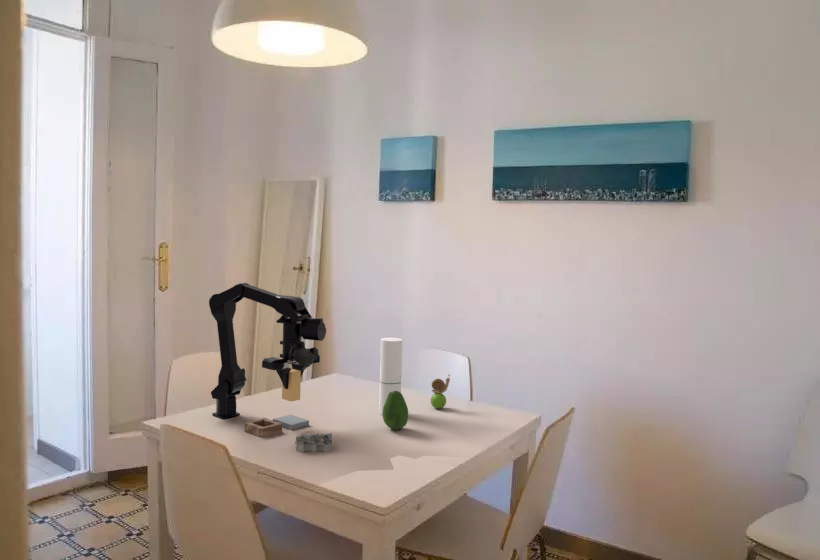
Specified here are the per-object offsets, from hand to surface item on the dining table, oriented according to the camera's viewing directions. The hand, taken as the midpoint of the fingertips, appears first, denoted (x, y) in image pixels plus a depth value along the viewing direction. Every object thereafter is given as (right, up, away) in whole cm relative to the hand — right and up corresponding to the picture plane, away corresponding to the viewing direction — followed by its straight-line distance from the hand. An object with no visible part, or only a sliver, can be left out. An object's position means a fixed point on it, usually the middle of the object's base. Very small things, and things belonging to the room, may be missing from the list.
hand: (291, 387), depth 207 cm
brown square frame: (-7, -12, -7) cm, 16 cm away
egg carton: (+10, -14, -20) cm, 26 cm away
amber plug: (0, -4, 0) cm, 4 cm away
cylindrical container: (+30, -11, +17) cm, 36 cm away
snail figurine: (+47, -11, +24) cm, 54 cm away
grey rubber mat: (0, -12, +1) cm, 12 cm away
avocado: (+32, -13, -1) cm, 35 cm away
